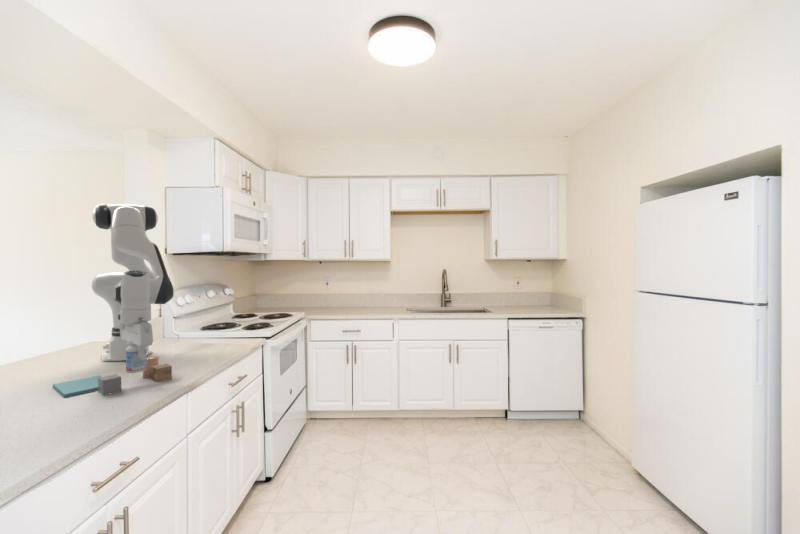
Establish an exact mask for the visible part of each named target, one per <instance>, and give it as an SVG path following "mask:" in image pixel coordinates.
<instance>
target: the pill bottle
mask: <svg viewBox="0 0 800 534" xmlns="http://www.w3.org/2000/svg"><path fill="white" fill-rule="evenodd" d="M128 344H129V347H127V348H126V360H125V371H126V373H128V374H137V373H141V372H142V373H143V371H145V370H146V369H147V357H148V355H147V347H146V348H145V351H144V356H143V357H138V356H137V352H138V347H137V345H136V344H133V343H132V341H130V340H129V341H128Z"/></svg>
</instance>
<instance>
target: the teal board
mask: <svg viewBox="0 0 800 534" xmlns="http://www.w3.org/2000/svg"><path fill="white" fill-rule="evenodd" d="M99 377H103V376H101V375H99V374H98V375H94V376H90V377H89V376H88V377H84V378H79V379H74V380H69V381H64V382H57V383H55V384H54V383H53V384H52V389H54V390H55V391H56V390H57V391H56V392H58V394H60V395H61V396H62V397H63V396H64V397H63V398H69V397H73V395H74V396H77V394H78V395H82V394H81V393H83V394H86V392H87V393H91V392H90V391H92V392H95V391H94V390H96V391H98V378H99ZM68 396H69V397H68Z"/></svg>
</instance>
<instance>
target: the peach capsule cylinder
mask: <svg viewBox="0 0 800 534" xmlns="http://www.w3.org/2000/svg"><path fill="white" fill-rule="evenodd" d="M159 363H160V358H159V356H147V369H146V370H145V371H142V378H143V379H151V366H156V365H160V364H159Z"/></svg>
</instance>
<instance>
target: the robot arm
mask: <svg viewBox="0 0 800 534" xmlns="http://www.w3.org/2000/svg"><path fill="white" fill-rule="evenodd" d="M92 220H93V223H94V224H95V225H96V227H97V228H99V229H101V230H102V229H103V230H110V244H111V245H110V249H111V251H110V252H111V260H112V261H113V262H114V263H116V264H117V265H120V266H123V267H124V268H126V269H127V270H128V271H125V272H107V273H99V274H97V275H96V276H95V277H93V280H92V281H91V289H92V291H93V293H94V294H95V295H96V296H99V297H101V298H102V299H103V300H104V301H105V302H106V303H107V304H108V305H109V307H110V309H111V312H112V322H113V323H112V324H113V327H112V328H111V337H110V338H109V340H108V341H107V343H105V344H103V346H102V349H103V350H104V351H105V350H106V351H105V352H102V353H100V357H101V360H102V362H114V361H115V362H119V361H120V362H121V361H126V348H127V347H129V344H128V341H129V340H130V341H132V343H133V344H136V345H137V347H138V352H137V356H138V357H143V356H144V351H145V348H146V347H147V356H148V355H150V354H153V350H150V349H149V346H152V345H153V344H154V343H153V342H154V337H153V336H154V335H153V328H152V324H151V323H150V322H151V320H152V305H165V304H167V303H169V302H170V301H171V300H172V299H173V298H174V294H175V290H174V286H173V284H172V281H171V279H170V276H169V275H168V271H167V268H166V266H165V262H164V260H163V257H162V254H161V251H160V250H159V247H158V246H157V244H155V243H154V242H153V241H152V240H150V239H149V238H148V236H147V233H146V232H147V231H149V230H152V229H155V228H156V227H157V224H158V220H159V216H158V214H157V212H156V209H155V208H154V207H153V206H149V205H139V204H132V203H123V204H122V203H116V204H115V203H113V204H112V203H110V204H107V203H101V204H98V205H96V206H95V207H94V209H93V211H92ZM145 261H146V262H148V264H149V265H150V267H151V269H150V268H149V267H148V265H147V264H146V262H145Z"/></svg>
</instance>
